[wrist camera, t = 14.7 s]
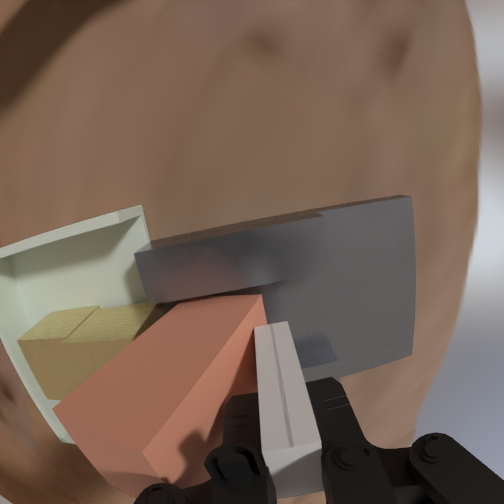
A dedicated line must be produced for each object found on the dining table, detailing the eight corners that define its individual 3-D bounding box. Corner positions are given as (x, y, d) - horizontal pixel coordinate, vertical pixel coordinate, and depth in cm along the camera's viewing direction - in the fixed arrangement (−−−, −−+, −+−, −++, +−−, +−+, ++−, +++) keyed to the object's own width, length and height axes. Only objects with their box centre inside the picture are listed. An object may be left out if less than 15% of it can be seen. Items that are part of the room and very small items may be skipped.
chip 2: (120, 367, 16) (95, 409, 12) (96, 308, 15) (60, 343, 11) (180, 364, 16) (164, 411, 12) (159, 300, 15) (132, 338, 11)
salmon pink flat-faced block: (206, 364, 16) (110, 484, 8) (186, 297, 15) (51, 409, 7) (275, 368, 14) (198, 522, 6) (261, 294, 13) (141, 452, 5)
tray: (77, 414, 18) (61, 441, 15) (5, 246, 15) (-28, 258, 11) (205, 412, 18) (201, 448, 15) (141, 204, 15) (117, 211, 11)
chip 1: (74, 364, 16) (47, 399, 13) (51, 311, 15) (16, 340, 12) (122, 363, 16) (98, 403, 12) (99, 305, 15) (65, 337, 12)
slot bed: (197, 391, 18) (192, 419, 15) (150, 241, 15) (133, 253, 13) (403, 345, 18) (422, 366, 15) (400, 194, 15) (426, 198, 13)
